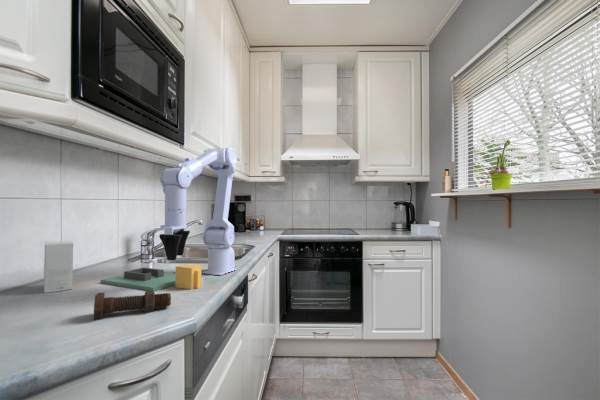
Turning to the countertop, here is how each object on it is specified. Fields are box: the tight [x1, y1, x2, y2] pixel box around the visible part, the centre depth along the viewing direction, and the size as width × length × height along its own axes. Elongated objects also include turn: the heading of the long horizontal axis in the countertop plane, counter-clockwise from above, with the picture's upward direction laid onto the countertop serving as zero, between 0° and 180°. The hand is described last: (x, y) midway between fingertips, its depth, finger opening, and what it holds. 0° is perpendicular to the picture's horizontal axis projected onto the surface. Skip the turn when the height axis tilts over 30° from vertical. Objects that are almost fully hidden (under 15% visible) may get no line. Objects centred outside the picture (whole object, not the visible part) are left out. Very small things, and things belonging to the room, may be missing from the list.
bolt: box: [93, 290, 172, 321], centre depth 71 cm, size 6×5×15 cm
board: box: [100, 267, 176, 292], centre depth 100 cm, size 16×22×3 cm
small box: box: [43, 240, 74, 294], centre depth 91 cm, size 8×6×13 cm
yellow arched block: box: [174, 263, 202, 290], centre depth 93 cm, size 4×7×6 cm, turn 66°
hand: (175, 257), depth 91 cm, fingers open, 7 cm apart
